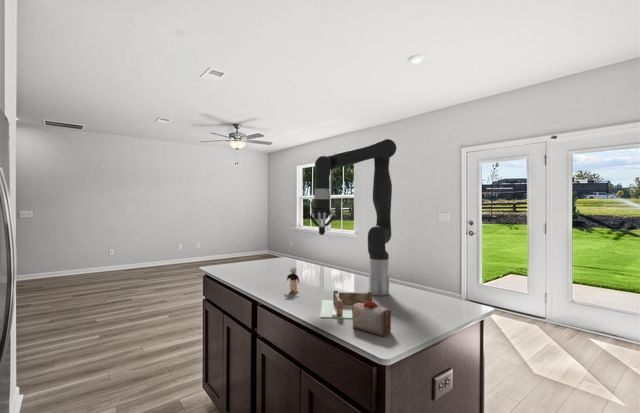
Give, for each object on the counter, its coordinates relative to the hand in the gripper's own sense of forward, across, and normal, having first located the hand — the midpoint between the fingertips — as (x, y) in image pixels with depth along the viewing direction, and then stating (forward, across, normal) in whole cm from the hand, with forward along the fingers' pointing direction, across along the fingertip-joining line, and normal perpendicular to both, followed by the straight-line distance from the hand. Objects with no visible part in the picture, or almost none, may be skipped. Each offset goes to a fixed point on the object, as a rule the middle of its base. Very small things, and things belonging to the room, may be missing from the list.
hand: (321, 234), depth 152 cm
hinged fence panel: (+28, -8, +22) cm, 36 cm away
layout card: (+29, -12, +20) cm, 37 cm away
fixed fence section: (+29, -16, +15) cm, 36 cm away
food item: (+29, -19, +40) cm, 53 cm away
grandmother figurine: (+29, +14, -4) cm, 33 cm away
